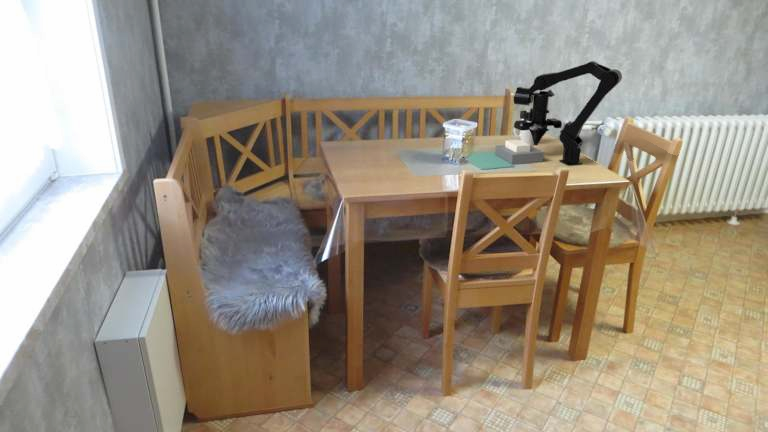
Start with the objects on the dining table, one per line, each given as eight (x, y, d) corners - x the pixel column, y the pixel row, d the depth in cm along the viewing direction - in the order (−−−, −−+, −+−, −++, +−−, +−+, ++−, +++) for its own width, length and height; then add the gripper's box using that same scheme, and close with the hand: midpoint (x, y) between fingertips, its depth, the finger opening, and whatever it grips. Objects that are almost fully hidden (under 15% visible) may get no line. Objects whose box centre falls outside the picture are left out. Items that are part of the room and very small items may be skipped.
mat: (514, 167, 211) (514, 166, 211) (481, 169, 207) (481, 168, 207) (490, 153, 229) (490, 152, 229) (459, 155, 225) (459, 154, 225)
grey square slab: (542, 161, 218) (544, 152, 216) (511, 164, 214) (512, 154, 212) (524, 152, 230) (525, 143, 229) (494, 155, 226) (495, 145, 225)
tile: (529, 151, 217) (530, 145, 216) (516, 152, 215) (516, 146, 214) (518, 145, 225) (518, 139, 224) (505, 146, 223) (505, 140, 222)
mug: (529, 142, 246) (532, 115, 242) (536, 145, 240) (539, 118, 236) (508, 143, 244) (511, 116, 240) (515, 147, 238) (518, 119, 234)
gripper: (549, 102, 226) (544, 138, 232) (509, 104, 221) (505, 141, 227) (565, 107, 216) (559, 145, 222) (523, 109, 211) (519, 148, 217)
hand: (535, 145), depth 222 cm, fingers closed
